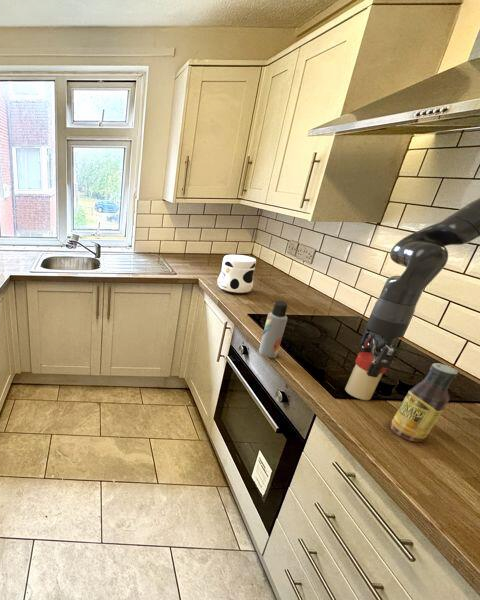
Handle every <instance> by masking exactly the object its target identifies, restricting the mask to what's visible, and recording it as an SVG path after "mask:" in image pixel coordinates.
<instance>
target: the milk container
mask: <svg viewBox="0 0 480 600" xmlns="http://www.w3.org/2000/svg"><path fill="white" fill-rule="evenodd" d="M256 265H257V259H256V258H255V257H252V256H249V255H244V254H226V255H224V257H223V259H222V265H221V270H220V274H218V278H217V287H218V288H219V289H221V291H224V292H226V293H231V294H238V295H239V294H241V295H242V294H248V293H249V292H251V291H252V290H253V287H254V274H255V271H256Z"/></svg>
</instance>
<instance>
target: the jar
mask: <svg viewBox="0 0 480 600" xmlns="http://www.w3.org/2000/svg"><path fill="white" fill-rule="evenodd" d="M383 375H384V373H382V374H379V375H378V377H371V376H368V375H367V370H364V369H362V368H360V367H359V366H357V365H356V363H355V365H354V367H353V369H352V371H351V374H350V376H349V378H348V379H347V382H346V385H345V387H344V391H345V392H346V393H347V394H348V395H350V396H351V397H353V398H356V399H358V400H361V401H369V400H371V399H372V397H373V396H374V394H375V391H376V390H377V387H378V386H379V383H380V381H381V379H382V377H383Z"/></svg>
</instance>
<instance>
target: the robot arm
mask: <svg viewBox="0 0 480 600" xmlns="http://www.w3.org/2000/svg"><path fill="white" fill-rule="evenodd" d="M479 237H480V197H478V198H477V199H474V200H473V201H471V202H469V203H467V204H466V205H464V206H463V207H461V208H459V209H458V210H455V212H453V213H452V214H450V215H449V216H447V217H446V218H444V219H443V220H441V221H439V222H436V223H433V224H432V225H431V224H430V225H429V226H427V227H424V228H422V229H419V230H417V231H415V232H412V233H411V234H409V235H406V236H405V237H403V238H401V239H400V240H399V241H397V242H396V243H395V244H394V245H393V247H392V248H391V250H390V253H389V255H390V259H391V261H392V262H394V263H395V264H396V265H399V266H402V267H405V269H404V271H403V273H401V275H392V276H390V277H388V278H387V279H386V281H385V283H384V284H383V287H382V290H381V292H380V294H379V296H378V299H377V300H376V302H375V303H374V306H373V308H372V310H371V312H370V315H369V317H368V319H367V322H366V324H365V329H364V331H363V334H362V337H361V339H360V342H359V345H360V346H361V352H369V353H371V355H372V356H373V357H372V363H371V365H370V367H369V369H368V371H367V375H368V376H371V377H378V375H379V373H380V371H381V369H382V367H384V368H387V369H389V368H390V366H391V365H392V362H393V360H394V359H395V357H396V355H397V353H398V352H399V351H398V348H395V347H393V342H394V339H400V338H403V337H404V335H405V334H406V331H407V329H408V327H409V325H410V323H411V321H412V318H413V316H414V314H415V312H416V309H417V305H418V303H419V301H420V299H421V297H422V294H423V292H424V290H425V289H426V288H427V287H428V286H429V285H430V284H431V283H432V281H434V279H436V277H437V276H438V275H439V274H440V273H441V271H443V269H444V268H445V266H446V265H447V263H448V260H449V251H448V249H447V247H448V246H462V245H466V244H469V243H470V242H473V241H475V240H477V239H478V238H479ZM377 356H378V358H377ZM386 360H387V361H386Z"/></svg>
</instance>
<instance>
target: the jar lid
mask: <svg viewBox="0 0 480 600" xmlns="http://www.w3.org/2000/svg"><path fill="white" fill-rule="evenodd" d="M372 357H373V356H372V355H371V353H369V352H362V351H360V352H358V354H357V356H356V358H355V360H354V363H355V364H356V365H357V366H359V367H360V368H362V369H364V370H367V371H368V369H369V367H370V365H371V363H372ZM377 358H378V356H377ZM386 361H387V360H386ZM387 371H388V368H384V367H382V369H381V371H380V373H379V374H382V373H383V374H385V373H387Z"/></svg>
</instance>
